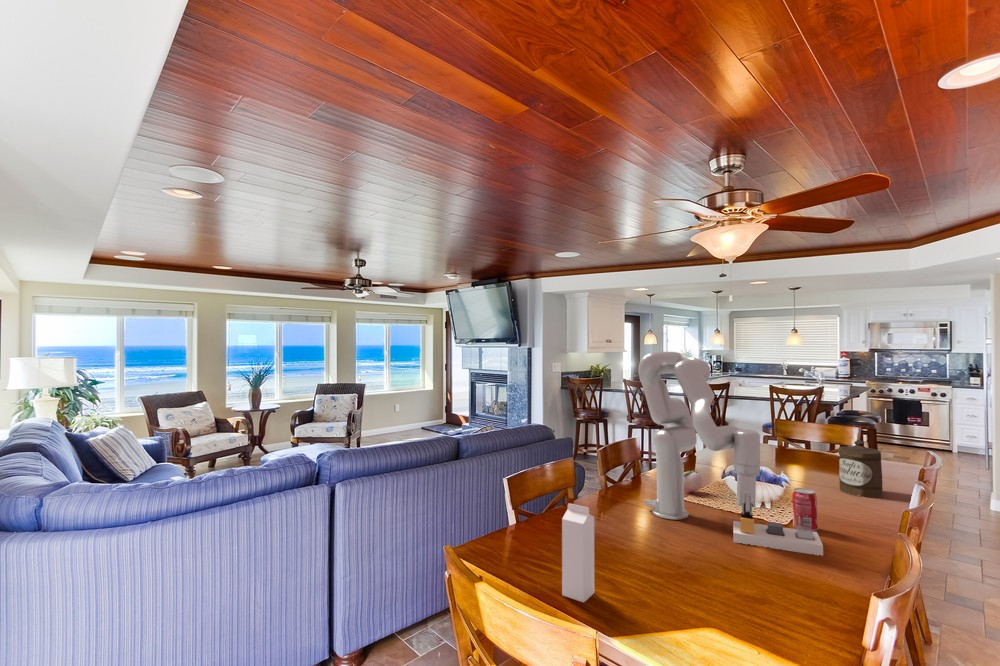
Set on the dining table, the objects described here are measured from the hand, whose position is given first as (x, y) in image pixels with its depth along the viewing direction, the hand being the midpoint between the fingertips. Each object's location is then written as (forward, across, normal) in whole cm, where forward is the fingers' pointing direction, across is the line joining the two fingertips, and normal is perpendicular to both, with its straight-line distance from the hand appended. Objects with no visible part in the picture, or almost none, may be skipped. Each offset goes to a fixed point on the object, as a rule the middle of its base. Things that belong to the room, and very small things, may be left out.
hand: (746, 525), depth 160 cm
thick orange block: (+4, +3, 0) cm, 5 cm away
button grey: (+2, -1, +16) cm, 16 cm away
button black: (+2, -1, +8) cm, 8 cm away
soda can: (+4, -18, +18) cm, 26 cm away
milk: (+4, +57, -40) cm, 70 cm away
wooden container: (+4, -77, +47) cm, 90 cm away
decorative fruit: (+5, -46, -19) cm, 50 cm away
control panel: (+4, -1, +8) cm, 9 cm away
